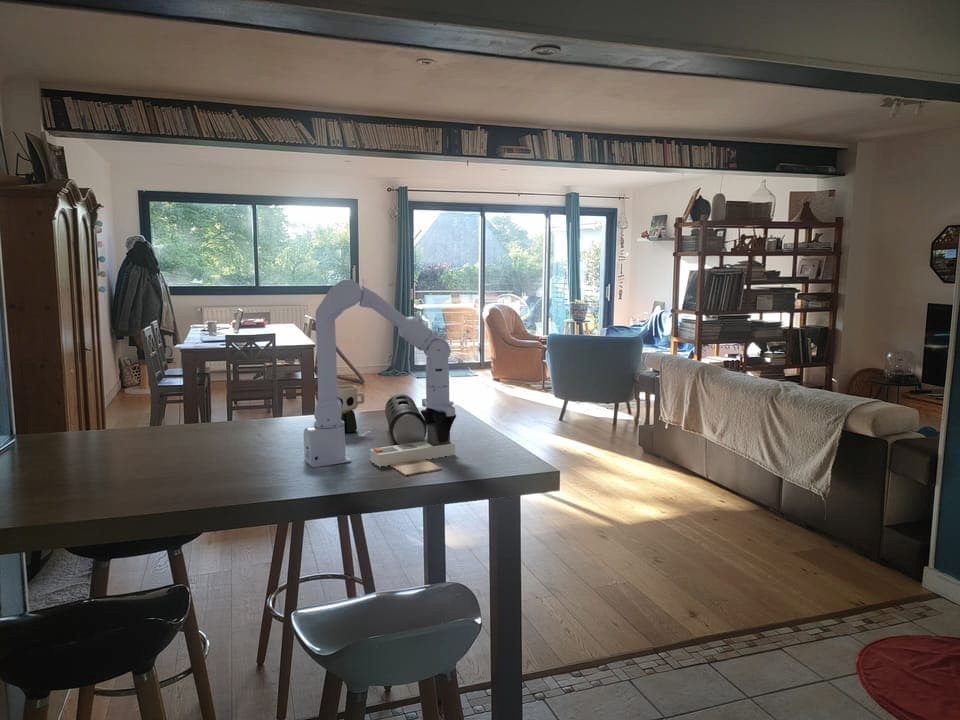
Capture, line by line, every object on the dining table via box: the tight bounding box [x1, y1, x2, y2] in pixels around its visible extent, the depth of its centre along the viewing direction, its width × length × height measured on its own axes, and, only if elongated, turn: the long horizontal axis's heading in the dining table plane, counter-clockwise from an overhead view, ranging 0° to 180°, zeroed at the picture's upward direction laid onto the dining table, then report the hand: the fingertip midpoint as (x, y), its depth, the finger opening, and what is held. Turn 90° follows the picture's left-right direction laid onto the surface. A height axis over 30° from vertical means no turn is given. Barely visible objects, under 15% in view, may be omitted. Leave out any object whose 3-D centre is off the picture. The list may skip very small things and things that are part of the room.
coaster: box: [389, 459, 443, 477], centre depth 158 cm, size 9×9×1 cm
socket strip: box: [369, 440, 456, 468], centre depth 166 cm, size 20×6×4 cm, turn 120°
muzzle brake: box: [384, 393, 427, 445], centre depth 185 cm, size 10×28×10 cm, turn 11°
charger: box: [426, 423, 451, 446], centre depth 169 cm, size 4×4×6 cm
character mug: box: [337, 384, 365, 433], centre depth 194 cm, size 11×7×13 cm, turn 101°
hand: (438, 439), depth 170 cm, fingers open, 5 cm apart
